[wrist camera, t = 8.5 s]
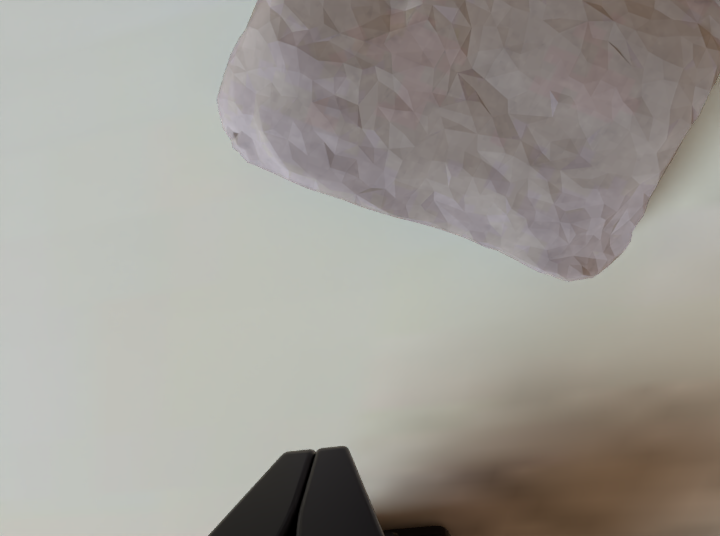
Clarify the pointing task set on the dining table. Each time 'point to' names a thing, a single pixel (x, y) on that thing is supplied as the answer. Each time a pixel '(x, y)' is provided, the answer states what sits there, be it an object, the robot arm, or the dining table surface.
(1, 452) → the dining table surface
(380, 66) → the stone block
